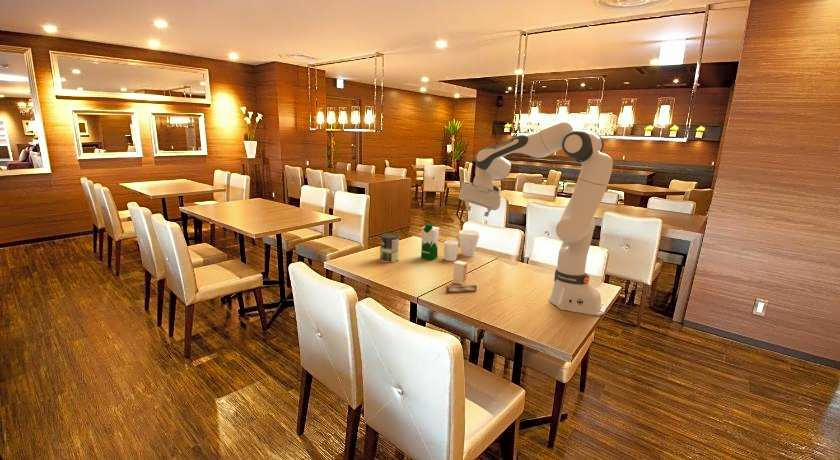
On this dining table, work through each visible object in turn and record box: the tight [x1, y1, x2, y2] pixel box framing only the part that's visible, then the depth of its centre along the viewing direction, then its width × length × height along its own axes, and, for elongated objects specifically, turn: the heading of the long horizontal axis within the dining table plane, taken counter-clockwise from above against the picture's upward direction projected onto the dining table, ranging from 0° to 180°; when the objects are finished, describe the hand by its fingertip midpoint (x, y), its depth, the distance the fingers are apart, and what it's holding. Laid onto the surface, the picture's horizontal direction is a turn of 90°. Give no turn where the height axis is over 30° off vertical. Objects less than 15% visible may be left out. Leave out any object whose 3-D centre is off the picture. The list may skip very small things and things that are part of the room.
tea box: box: [452, 260, 468, 286], centre depth 183 cm, size 5×4×10 cm
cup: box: [458, 229, 480, 257], centre depth 228 cm, size 12×12×14 cm
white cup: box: [443, 240, 459, 262], centre depth 218 cm, size 8×8×10 cm
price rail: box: [445, 284, 478, 294], centre depth 173 cm, size 14×2×2 cm, turn 104°
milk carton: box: [420, 223, 440, 261], centre depth 218 cm, size 9×9×20 cm
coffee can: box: [379, 232, 400, 263], centre depth 213 cm, size 10×10×14 cm
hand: (477, 213), depth 180 cm, fingers open, 8 cm apart
